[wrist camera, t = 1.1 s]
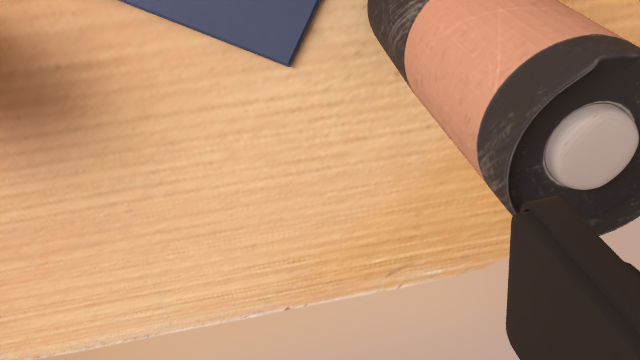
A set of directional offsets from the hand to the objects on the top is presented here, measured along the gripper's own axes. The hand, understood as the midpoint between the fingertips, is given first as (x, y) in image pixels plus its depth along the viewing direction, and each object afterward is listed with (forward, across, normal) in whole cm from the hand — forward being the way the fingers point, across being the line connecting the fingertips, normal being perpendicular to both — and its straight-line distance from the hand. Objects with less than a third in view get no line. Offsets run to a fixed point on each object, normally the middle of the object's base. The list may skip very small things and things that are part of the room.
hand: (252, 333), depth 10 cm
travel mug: (+29, -13, +5) cm, 32 cm away
